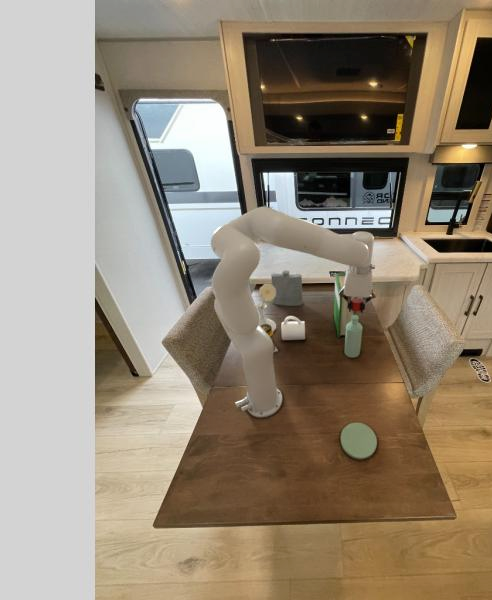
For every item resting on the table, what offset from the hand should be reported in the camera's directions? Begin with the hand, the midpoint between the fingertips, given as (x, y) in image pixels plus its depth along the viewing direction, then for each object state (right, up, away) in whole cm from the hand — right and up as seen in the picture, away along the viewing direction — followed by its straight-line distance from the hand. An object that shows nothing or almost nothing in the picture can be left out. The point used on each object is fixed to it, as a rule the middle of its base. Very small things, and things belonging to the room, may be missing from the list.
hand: (355, 310), depth 103 cm
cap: (0, 0, 0) cm, 0 cm away
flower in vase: (-40, -11, +24) cm, 48 cm away
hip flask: (-32, +2, +44) cm, 54 cm away
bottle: (0, -19, +11) cm, 22 cm away
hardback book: (-2, -9, +27) cm, 29 cm away
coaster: (-2, -39, -22) cm, 45 cm away
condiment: (-38, -18, +13) cm, 44 cm away
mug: (-26, -14, +19) cm, 35 cm away
